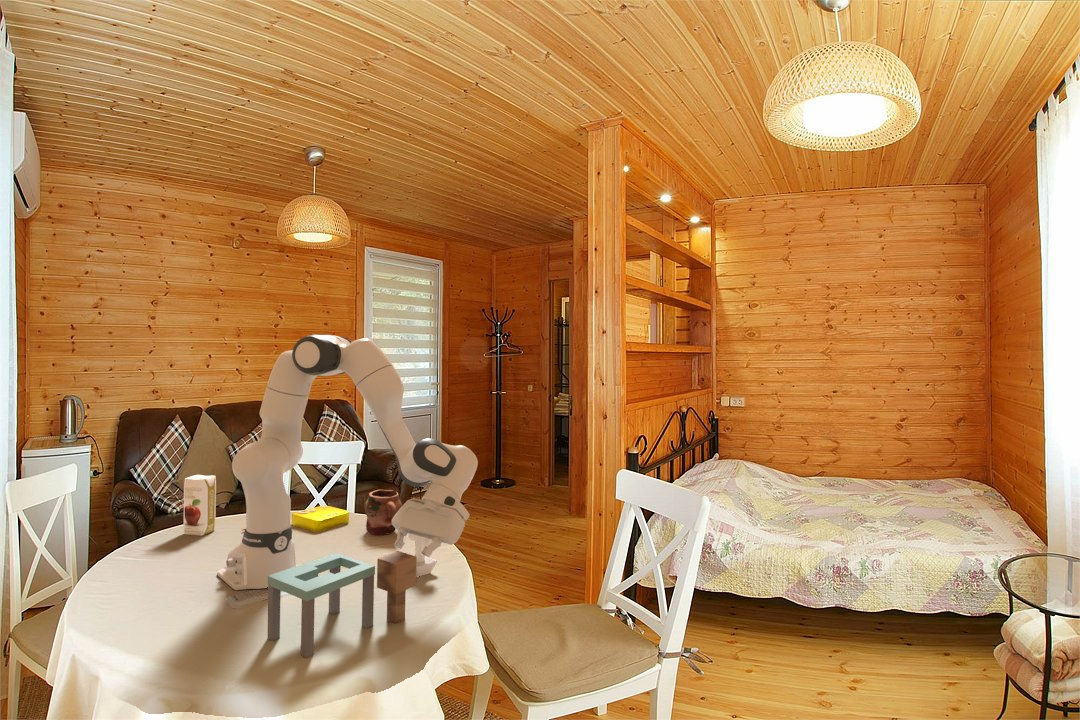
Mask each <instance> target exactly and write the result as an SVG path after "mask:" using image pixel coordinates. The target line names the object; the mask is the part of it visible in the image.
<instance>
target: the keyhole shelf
mask: <svg viewBox="0 0 1080 720" xmlns="http://www.w3.org/2000/svg"><path fill="white" fill-rule="evenodd" d="M298 565H299V566H296V567H293V568H290V569H287V570H284V571H281V572H278V573H275V574H272V575H269V576H268V588H267V636H266V637H267V638H266V639H268V640H270V641H271V642H273V641H275V640H277V639H280V638H281V636H280V635H281V592H283V593H285V594H289V595H291V596H293V597H295V598H298V599H300V600H301V617H300V618H301V623H300V624H301V625H300V627H301V628H300V629H301V630H300V633H301V634H300V656H301V657H304V658H305V659H307V658H310V657H311V656H314V655H315V653H314V652H315V651H314V650H315V649H314V648H315V647H314V645H315V599H316V598H320V597H322V596H325V595H326V594H328V613H330V614H332V615H335V614H337V613H339V612H340V611H341V589H342V588H344V587H346V586H350V585H351V584H354V583H357V582H359V581H362V590H361V591H362V597H361V598H362V599H361V603H362V604H361V612H362V613H361V627H363V628H365V629H369V628H370V627H373V626H374V608H375V606H374V602H375V601H374V599H375V597H374V596H375V595H374V594H375V575H376V566H375V565H374V564H370V563H367V562H365V561H361V560H357V559H356V558H352V557H349V556H346V555H344V554H340V553H337V552H335V553H332V554H329V555H326V556H323V557H319V558H317V559H315V560H311V561H307V562H305V563H303V564H298ZM342 567H343V568H346V569H344V570H342V571H341V568H342ZM326 571H328V572H327V573H324V572H326ZM321 573H324V574H322V575H319V574H321Z"/></svg>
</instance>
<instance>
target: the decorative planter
mask: <svg viewBox="0 0 1080 720" xmlns="http://www.w3.org/2000/svg"><path fill="white" fill-rule="evenodd" d="M399 495H400V494H399V493H398V492H397V490H391V489H389V490H387V489H386V490H385V489H377V490H373V491H371V492H369V493H368V498H367V500H366V501H365V502H364V504H363V506H364V507H363V508H364V511H365V516H366V522H365V523H366V525H365V527H366V528H365V529H366V532H367V534H369V536H370V535H371V536H374V537H380V536H386V535H390V534H393V533H395V531H396V530H397V529H396V528H395V527H394V526H393V525H392V519H393V517H394V516H395V514H396V513H397V512H398V510H399V509H400V508H401V507H402V506H403V504H402V501H401V500H400V496H399Z"/></svg>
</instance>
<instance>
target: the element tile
mask: <svg viewBox="0 0 1080 720" xmlns="http://www.w3.org/2000/svg"><path fill="white" fill-rule="evenodd" d="M349 522H350V512H349V510H346V509H341V508H338V507H334V506H329V505H326V504H323V505H319V506H315V507H312V508H307V509H304V510H299V511H295V512H292V513H291V526H292V527H296V528H300V529H302V530H307V531H310V532H313V533H319V532H323V531H327V530H330V529H333V528H336V527H339V526H343V525H347V524H349Z"/></svg>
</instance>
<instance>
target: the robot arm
mask: <svg viewBox="0 0 1080 720" xmlns="http://www.w3.org/2000/svg"><path fill="white" fill-rule="evenodd" d="M343 374H346V375H348V376H349V378H350V380H352V382H353V384H354V385H355V387H356V389H357V390H358V393H360V396H362V398H363V399H364V402H365V403H366V404H367V406H368V407H369V409H370V411H371V413H372V415H373V416H374V418H375V421H376V423H377V424H378V426H379V429H380V430H381V432H382V434H383V436H384V437H385V439H386V441H387V443H388V444H389V447H390V448H391V450H392V452H393V454H394V456H395V459H396V465H397V471H398V475H399V477H400V479H401V480H402V482H404V483H405V484H406V485H409V486H411V487H414V488H419V487H421V488H422V487H424V486H426V485H428V484H429V483H430V485H429V487H428V488H427V490H426V491H425V493H424V495H423V496H422V498H418V497H412V498H410V499H408V500H406V502H404V503H403V504H402V507H401V508H400V509H399V510H398V512H397V513H396V514H395V516H394V517H393V519H392V525H393V526H394V527H395V528H396V529H395V530H397V532H396V533H397V534H396V535H397V536H396V540H394V541H395V542H394V543H393V546H394V547H395V548H397V549H402V548H403V547H404V546H405V544H406V543H405V541H404V538H405V537H406V536H408V533H410V534H413V535H417V536H421V537H424V538H428V539H432V541H433V542H432V543H431V544H430V545H429V546H428V547H426V546H425V547H424V549H423V550H422V554H423V555H424V556H427V557H430V558H431V555H432V554H433V552H435V550H437V549H438V548H439V547H441V545H442V544H448V545H454V544H455V543H457V541H458V540H459V539H460V537H461V535H462V534H463V531H464V528H465V526H466V521H468V519H469V518H470V513H469V511H468V510H467V509H466V507H465V506H464V505H463V504H462V502H461V500H462V495H463V494H464V492H465V491H466V490H468V488H469V486H470V484H471V482H472V480H473V478H474V476H475V474H476V471H477V469H478V465H479V461H478V458H477V456H476V454H475V453H474V452H473V450H471V448H469V447H467V446H465V445H461V444H459V445H452V444H447V443H443V442H441V441H439V439H435V438H431V437H430V438H429V437H427V438H423V439H420V440H419V441H418V442H417V443H416V442H415V440H414V438H413V436H412V434H411V433H410V430H409V429H408V427H407V425H406V423H405V422H404V419H403V414H402V403H403V397H404V393H405V392H404V389H405V388H404V384H403V382H402V379H401V376H400V374H399V372H398V371H397V369H396V367H394V365H393V363H392V362H391V361H390V359H389V357H388V355H386V353H385V352H384V351H383V350H382V349H381V348H380V346H379V345H377V344H376V342H375V341H374V340H372V339H370V338H359V339H355V340H354V341H352V340H350V339H349V338H347V337H345V336H337V335H333V334H310V335H307V336H304V337H301V338H300V339H298V341H296V343H295V344H294V346H293V348H292V350H291V349H289V350H285V351H283V352H281V353H280V354H279V355H278V357H277V359H276V361H275V363H274V365H273V367H272V370H271V372H270V375H269V376H268V377H269V378H268V380H267V383H266V387H265V390H264V395H263V399H262V402H261V406H260V410H259V417H260V418H261V422H262V423H261V424H262V429H261V430H262V432H261V436H260V438H259V440H256V441H253V442H250V443H249V444H246V445H245V446H243V448H241V449H240V450H239V451H238V452H236V453H235V455H234V457H233V458H232V463H231V467H232V468H231V469H232V472H233V475H234V476H235V478H236V479H237V480H238V481H239V482H240V483H241V486H242V487H241V488H242V490H243V494H244V497H245V505H246V506H245V507H246V509H245V510H246V514H245V515H246V516H245V517H246V521H245V522H246V525H245V528H243V529H241V531H243V532H241V534H242V538H241V542H240V543H239V544H238V545H237V546H235V547H234V548H233V549H231V550H230V551H229V553H228V554H227V558H226V561H225V565H226V566H224V567H222V568H220V569H219V570H217V573H216V575H217V577H219V578H220V579H221V580H222V581H223V582H225V583H226V584H227V585H228V586H229V587H230V588H232V589H233V590H235V591H240V590H250V589H251V590H252V589H253V590H255V589H256V590H257V589H259V590H260V589H268V588H267V587H268V576H269V575H272V574H275V573H278V572H281V571H284V570H287V569H290V568H293V567H296V566H299V565H300V564H297V560H296V548H295V547H296V546H295V542H294V541H293V540H292V539H293V526H292V524H291V515H292V513H291V508H292V507H291V505H292V503H291V502H292V500H291V499H292V498H291V496H290V495H289V494H288V493H287V491H286V487H285V483H284V474H285V473H287V472H289V471H291V470H292V469H294V468H295V466H297V464H298V463H299V462H300V460H301V459H302V457H303V452H304V451H303V450H304V449H303V446H302V441H301V439H302V425H303V420H304V415H305V412H306V407H307V405H308V399H309V397H310V393H311V389H312V385H313V383H314V381H315V379H316V378H317V377H318V376H321V377H322V376H323V377H328V376H329V377H330V376H333V375H343ZM431 553H432V554H431Z"/></svg>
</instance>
